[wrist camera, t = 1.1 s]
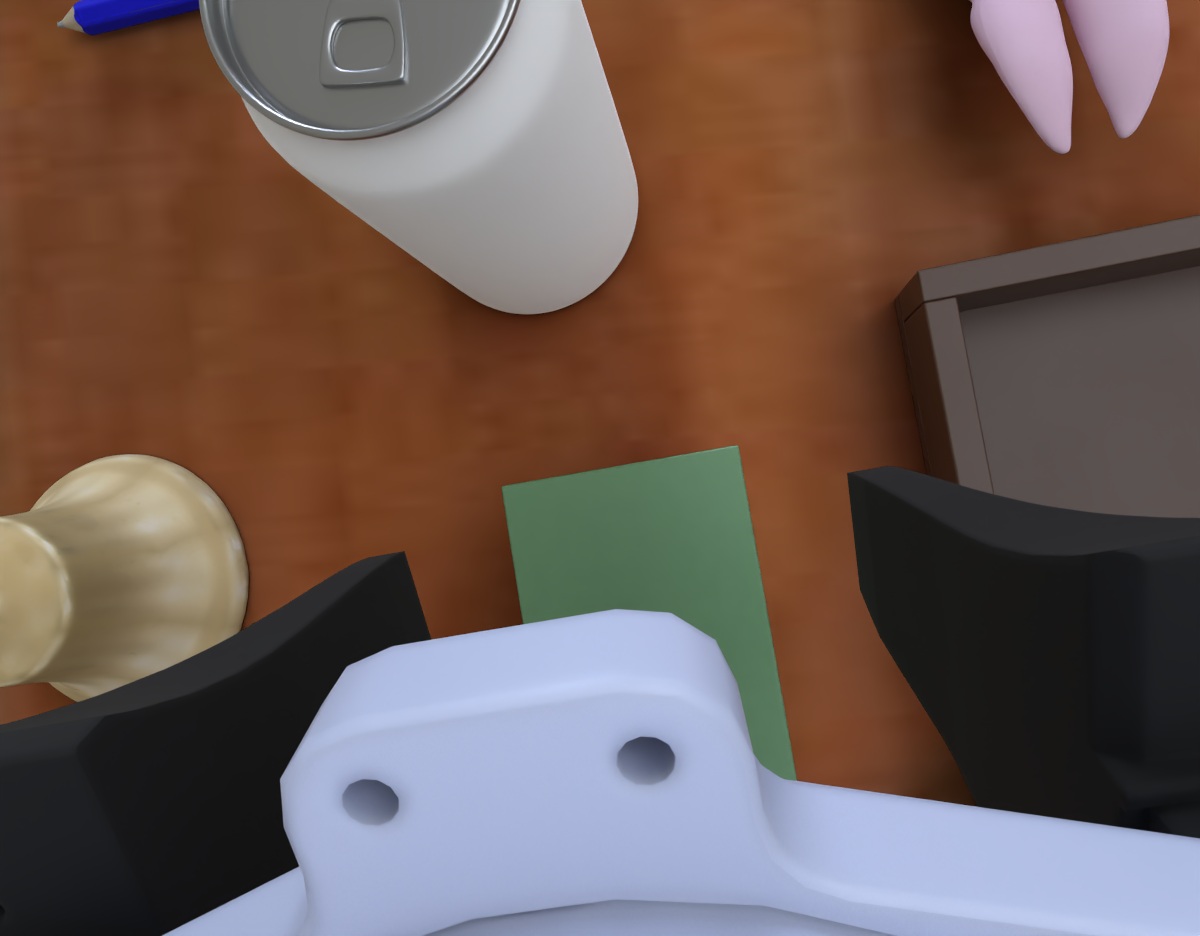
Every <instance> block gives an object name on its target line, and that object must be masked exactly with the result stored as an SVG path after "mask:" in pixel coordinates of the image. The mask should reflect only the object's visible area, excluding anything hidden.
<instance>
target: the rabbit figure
mask: <svg viewBox="0 0 1200 936" xmlns="http://www.w3.org/2000/svg"><path fill="white" fill-rule="evenodd" d="M969 1H971V2H972V9H971V15H970V22H971V26H972V29H973V32H974V34H975V36H976V38H977V40H978V42H979V44H980V46H981V48H982V49H983V51H984V52H985V54H986V55H987V56H988V58H989V59H990V61H991V62H992V64H993V66H994V68H995V69H996V71H997V73H998V75H999V77H1000V78H1001V80H1002V81H1003V83H1004V85H1005V86H1006V88H1007V89H1008V91H1009V92H1010V94H1011V95H1012V97H1013V98H1014V99H1015V101H1016V102H1017V104H1018V105H1019V107H1020V109H1021V110H1022V112H1023V113H1024V115H1025V116H1026V118H1027V119H1028V121H1029V122H1030V124H1031V125H1032V127H1033V128H1034V130H1035V131H1036V133H1037V134H1038V135H1039V137H1040V138H1041V139H1042V140H1043V141H1044V143H1045V144H1046V145H1047V146H1048V147H1049V148H1051V149H1052V150H1053V151H1055V152H1057V153H1060V154H1065V153H1067V152H1068V151H1069V150H1070V147H1071V115H1072V99H1073V77H1072V67H1071V61H1070V57H1069V53H1068V49H1067V46H1066V42H1065V37H1064V33H1063V28H1062V22H1061V18H1060V13H1059V10H1058V7H1057V4H1056V2H1055V0H969ZM1062 1H1063V3H1064V5H1065V8H1066V10H1067V13H1068V16H1069V19H1070V22H1071V24H1072V27H1073V30H1074V33H1075V36H1076V38H1077V41H1078V43H1079V46H1080V48H1081V50H1082V53H1083V55H1084V58H1085V60H1086V63H1087V65H1088V68H1089V70H1090V73H1091V75H1092V78H1093V81H1094V84H1095V86H1096V88H1097V90H1098V92H1099V95H1100V97H1101V99H1102V101H1103V103H1104V105H1105V107H1106V109H1107V111H1108V113H1109V116H1110V119H1111V121H1112V124H1113V126H1114V129H1115V132H1116V134H1117V135H1118V136H1119V138H1127V137H1129V136H1130V135H1131V134H1132V133H1133V132H1134V131H1135V130H1136V129H1137V127H1138V126H1139V124H1140V122H1141V121H1142V119H1143V117H1144V115H1145V113H1146V111H1147V109H1148V107H1149V105H1150V102H1151V100H1152V97H1153V94H1154V92H1155V89H1156V87H1157V84H1158V81H1159V78H1160V76H1161V73H1162V70H1163V66H1164V63H1165V59H1166V54H1167V49H1168V43H1169V18H1168V9H1167V2H1166V0H1062Z"/></svg>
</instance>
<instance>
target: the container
mask: <svg viewBox="0 0 1200 936" xmlns="http://www.w3.org/2000/svg"><path fill="white" fill-rule="evenodd" d="M502 495H503V501H504V507H505V514H506V520H507V526H508V533H509V539H510V545H511V551H512V558H513V564H514V570H515V576H516V583H517V589H518V595H519V602H520V608H521V614H522V620H523V624H529V623H535V622H541V621H547V620H553V619H559V618H565V617H571V616H577V615H583V614H589V613H595V612H601V611H607V610H613V609H623V610H638V611H653V612H668V613H672V614H674V615H675V616H677V617H679V618H680V619H682V620H684V621H685V622H687V623H689V624H690V625H692V626H693V627H695V628H697V629H698V630H700V631H702V632H703V633H705V634H706V635H708V636H710V637H711V638H713V639H715V640H716V642H717V644H718V646H719V648H720V650H721V652H722V654H723V656H724V658H725V660H726V661H727V663H728V665H729V667H730V669H731V671H732V673H733V675H734V677H735V679H736V681H737V684H738V688H739V693H740V697H741V701H742V706H743V710H744V714H745V719H746V723H747V727H748V732H749V736H750V740H751V745H752V749H753V753H754V755H755V756H756V758H757V759H758V761H759V762H760V764H761V765H762V766H764V767H765V768H767V769H768V770H770V771H771V772H773V773H774V774H776V775H777V776H779V777H780V778H783V779H786V780H793V781H797V777H796V772H795V766H794V760H793V754H792V749H791V743H790V737H789V732H788V726H787V720H786V714H785V709H784V703H783V697H782V692H781V686H780V680H779V675H778V669H777V663H776V657H775V652H774V646H773V640H772V635H771V629H770V623H769V618H768V612H767V606H766V600H765V595H764V589H763V583H762V578H761V572H760V566H759V560H758V555H757V549H756V543H755V538H754V532H753V526H752V521H751V515H750V509H749V503H748V498H747V492H746V486H745V481H744V475H743V469H742V463H741V458H740V452H739V447H738V446H736V445H735V446H729V447H723V448H718V449H712V450H706V451H700V452H695V453H689V454H683V455H677V456H672V457H666V458H660V459H655V460H649V461H643V462H637V463H632V464H626V465H620V466H614V467H609V468H603V469H597V470H591V471H586V472H580V473H574V474H569V475H563V476H557V477H551V478H546V479H540V480H534V481H528V482H523V483H517V484H511V485H505V486H503V487H502Z"/></svg>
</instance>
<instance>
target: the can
mask: <svg viewBox="0 0 1200 936" xmlns="http://www.w3.org/2000/svg"><path fill="white" fill-rule="evenodd" d="M199 6H200V13H201V19H202V23H203V28H204V31H205V35H206V38H207V41H208V44H209V46H210V49H211V51H212V54H213V56H214V58H215V60H216V62H217V64H218V66H219V67H220V69H221V71H222V72H223V74H224V75H225V77H226V78H227V80H228V81H229V83H230V84H231V85H232V86H233V88H234V89H235V90H236V91H237V92H238V93H239V95H240V96H241V97H242V99H243V102H244V104H245V106H246V108H247V110H248V112H249V114H250V116H251V118H252V119H253V121H254V123H255V125H256V126H257V128H258V129H259V131H260V132H261V133H262V135H263V136H264V138H265V139H266V140H267V141H268V142H269V144H270V145H271V146H272V147H273V148H274V149H275V150H276V151H277V152H278V153H279V154H280V155H281V156H282V157H283V158H284V159H285V160H286V161H287V162H288V163H289V164H290V165H291V166H292V167H293V168H295V169H296V170H297V171H298V172H300V173H301V174H302V175H303V176H305V177H306V178H307V179H308V180H310V181H311V182H312V183H313V184H315V185H316V186H317V187H319V188H320V189H321V190H323V191H324V192H325V193H327V194H328V195H329V196H331V197H332V198H333V199H335V200H336V201H337V202H339V203H340V204H342V205H343V206H344V207H346V208H347V209H348V210H350V211H351V212H352V213H354V214H355V215H356V216H358V217H359V218H361V219H362V220H363V221H365V222H366V223H367V224H369V225H370V226H371V227H373V228H374V229H376V230H377V231H378V232H380V233H381V234H382V235H384V236H385V237H387V238H388V239H389V240H391V241H392V242H393V243H395V244H396V245H398V246H399V247H400V248H402V249H403V250H404V251H406V252H407V253H409V254H410V255H411V256H413V257H414V258H416V259H417V260H418V261H420V262H421V263H422V264H424V265H425V266H427V267H428V268H429V269H431V270H432V271H434V272H435V273H436V274H438V275H439V276H441V277H442V278H443V279H445V280H446V281H448V282H449V283H450V284H452V285H453V286H455V287H456V288H457V289H459V290H460V291H462V292H463V293H465V294H466V295H468V296H469V297H471V298H473V299H474V300H476V301H478V302H480V303H482V304H484V305H486V306H488V307H491V308H493V309H496V310H500V311H503V312H508V313H514V314H540V313H546V312H551V311H555V310H558V309H561V308H564V307H567V306H569V305H571V304H574V303H576V302H578V301H579V300H581V299H583V298H584V297H586V296H588V295H589V294H590V293H592V292H593V291H594V290H596V289H597V288H598V287H599V286H600V285H601V284H602V283H603V282H605V280H606V279H607V278H608V277H609V276H610V275H611V274H612V273H613V271H614V270H615V269H616V267H617V266H618V265H619V263H620V261H621V260H622V258H623V256H624V255H625V253H626V251H627V249H628V246H629V244H630V242H631V239H632V236H633V233H634V229H635V225H636V220H637V214H638V189H637V181H636V176H635V172H634V168H633V164H632V160H631V157H630V154H629V150H628V147H627V144H626V140H625V137H624V134H623V131H622V128H621V124H620V121H619V118H618V115H617V112H616V108H615V105H614V102H613V99H612V96H611V93H610V89H609V86H608V83H607V80H606V77H605V74H604V71H603V67H602V64H601V61H600V58H599V55H598V52H597V49H596V45H595V42H594V39H593V36H592V33H591V30H590V27H589V24H588V21H587V18H586V15H585V12H584V8H583V5H582V2H581V0H199Z"/></svg>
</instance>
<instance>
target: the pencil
mask: <svg viewBox="0 0 1200 936" xmlns="http://www.w3.org/2000/svg"><path fill="white" fill-rule="evenodd" d="M199 9H200V6H199V0H82V1H78V2H77V3H75V4H74V6H73V7H72V8H71V10H70V11H69V12H68V14H67V15H66V16H65V18H64V19H63V20H62V21H60V22H58V23H57V26H58V27H59V28H69V29H73V30H76V31H80V32H83V33H86V34H89V35H97V34H101V33H105V32H109V31H113V30H117V29H121V28H125V27H129V26H134V25H138V24H142V23H146V22H150V21H154V20H158V19H162V18H166V17H170V16H174V15H178V14H182V13H186V12H190V11H195V10H199Z"/></svg>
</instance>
